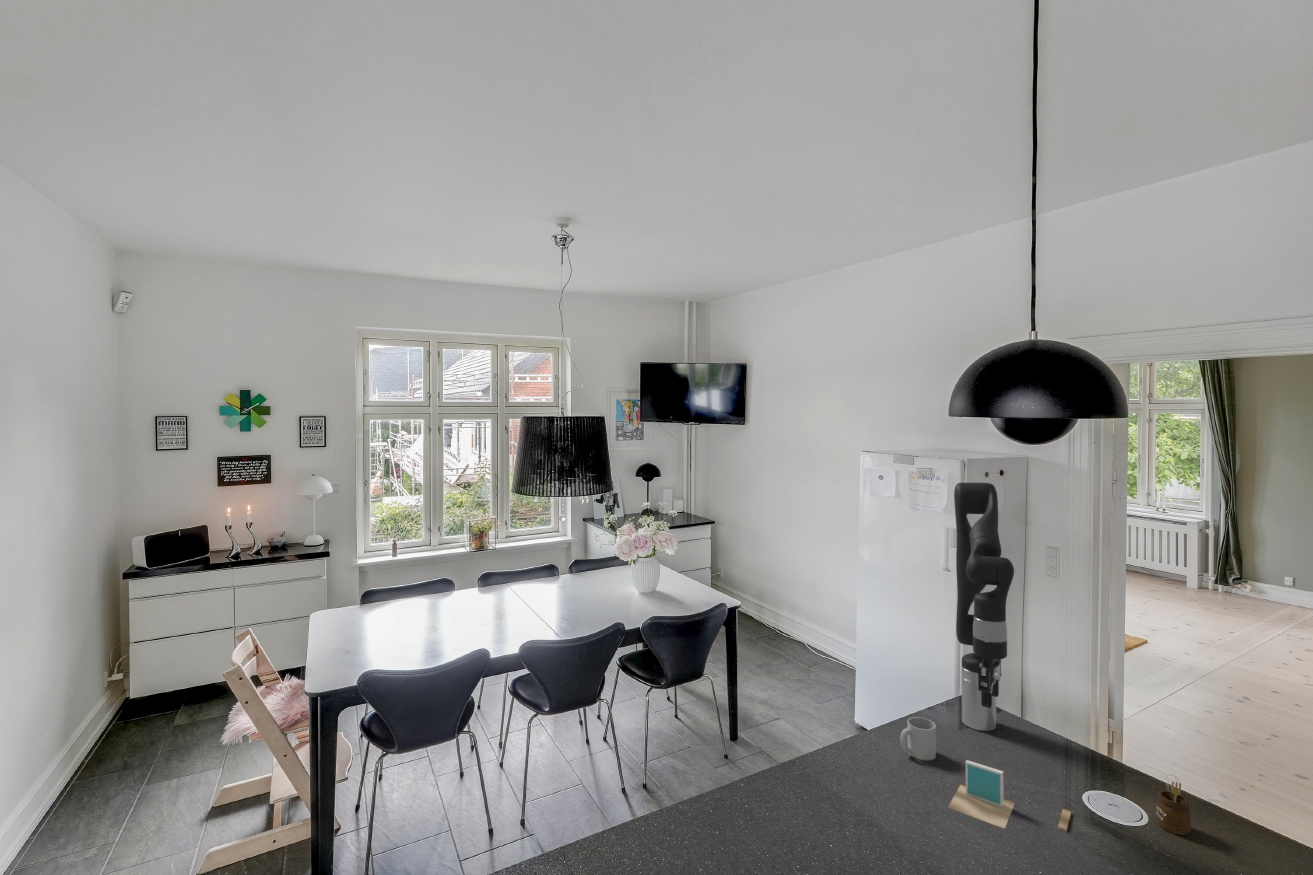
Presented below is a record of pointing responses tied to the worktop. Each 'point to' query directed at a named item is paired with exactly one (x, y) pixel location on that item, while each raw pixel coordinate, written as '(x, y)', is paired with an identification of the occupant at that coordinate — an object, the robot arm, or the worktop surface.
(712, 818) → the worktop surface
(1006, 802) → the board
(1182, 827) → the utensil holder
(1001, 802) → the tile
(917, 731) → the cup
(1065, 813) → the tan tapered flat part
